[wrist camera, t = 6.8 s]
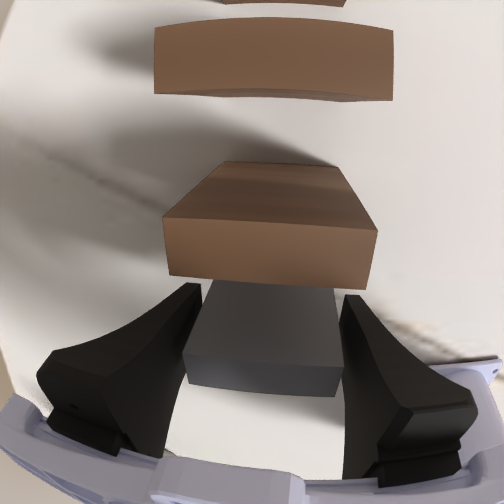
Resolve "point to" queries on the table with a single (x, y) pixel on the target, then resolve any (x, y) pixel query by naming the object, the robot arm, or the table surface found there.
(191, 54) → the domino
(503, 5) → the table surface
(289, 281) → the domino
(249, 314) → the domino
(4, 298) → the table surface
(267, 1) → the domino
